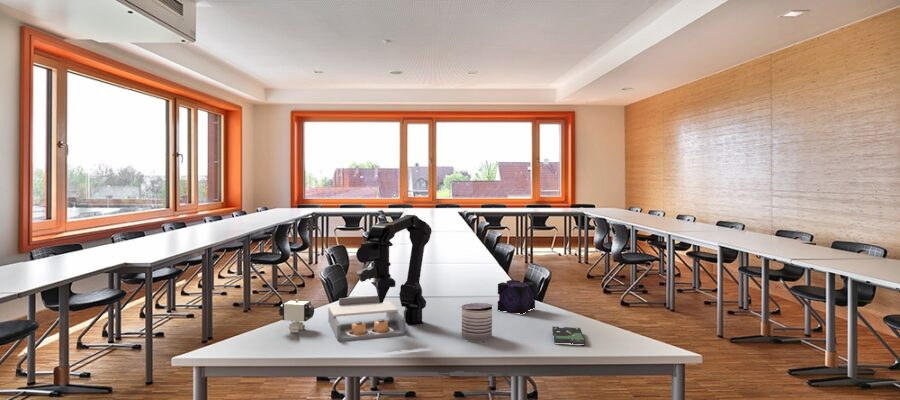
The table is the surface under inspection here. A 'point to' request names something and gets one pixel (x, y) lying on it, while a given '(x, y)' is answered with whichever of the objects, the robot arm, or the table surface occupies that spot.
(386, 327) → the orange grey rounded piece
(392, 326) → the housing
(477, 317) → the can
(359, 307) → the lid
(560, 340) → the disk drive
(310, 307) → the pneumatic valve
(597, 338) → the table surface
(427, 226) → the robot arm
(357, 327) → the orange grey domed knob
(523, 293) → the energy cube
